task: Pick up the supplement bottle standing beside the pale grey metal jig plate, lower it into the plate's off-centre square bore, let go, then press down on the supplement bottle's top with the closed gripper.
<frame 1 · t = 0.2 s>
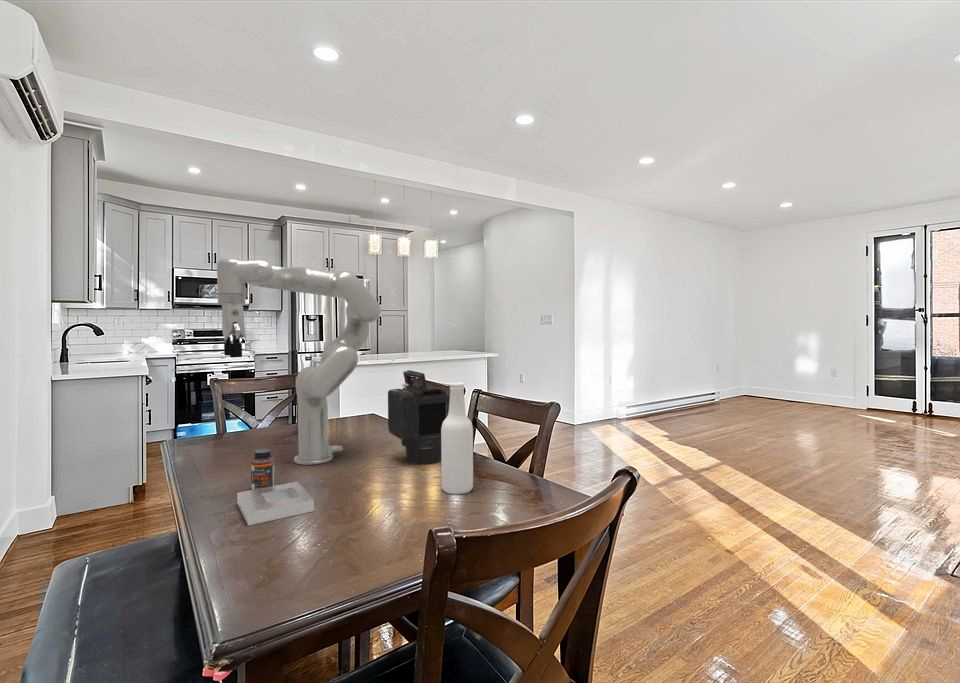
hand: (233, 356, 151), 36 cm above the table, tool pointing down, fingers open, 9 cm apart
supplement bottle: (263, 491, 137), on the table
alcohol: (457, 490, 138), on the table
lantern: (420, 460, 167), on the table
jig: (274, 507, 125), on the table
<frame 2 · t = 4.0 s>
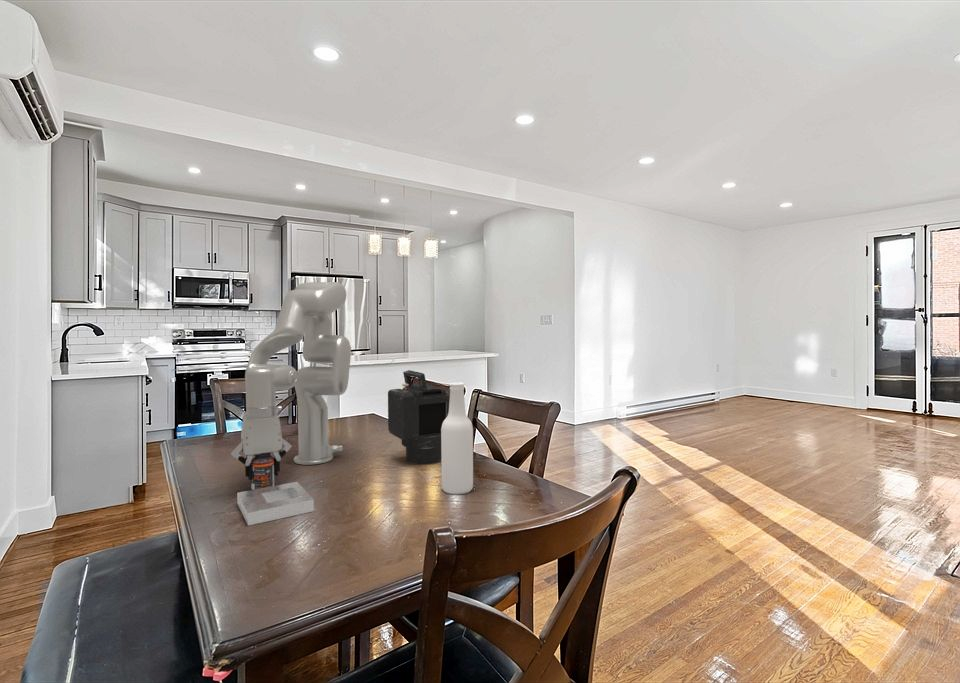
hand: (262, 476, 137), 4 cm above the table, tool pointing down, fingers closed on supplement bottle, 6 cm apart
supplement bottle: (263, 491, 137), on the table, touching gripper
everything else where it was.
when the fingers open (5 cm above the table, at t = 10.6 s): supplement bottle drops 1 cm, resting in jig.
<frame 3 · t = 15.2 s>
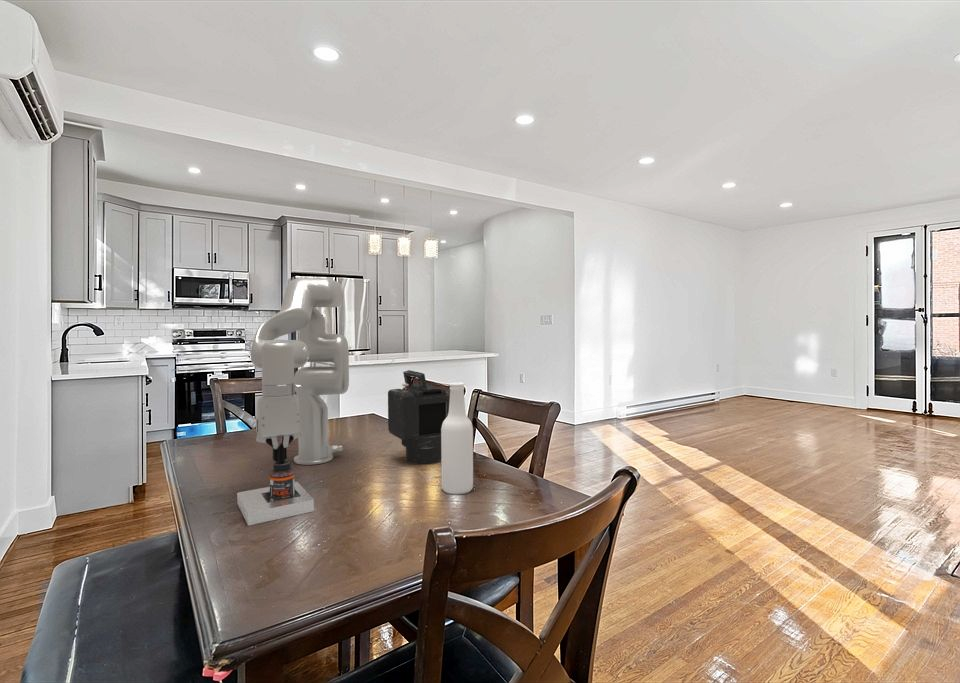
hand: (279, 462, 125), 11 cm above the table, tool pointing down, fingers closed
supplement bottle: (282, 506, 126), resting in jig, touching gripper
everything else where it was.
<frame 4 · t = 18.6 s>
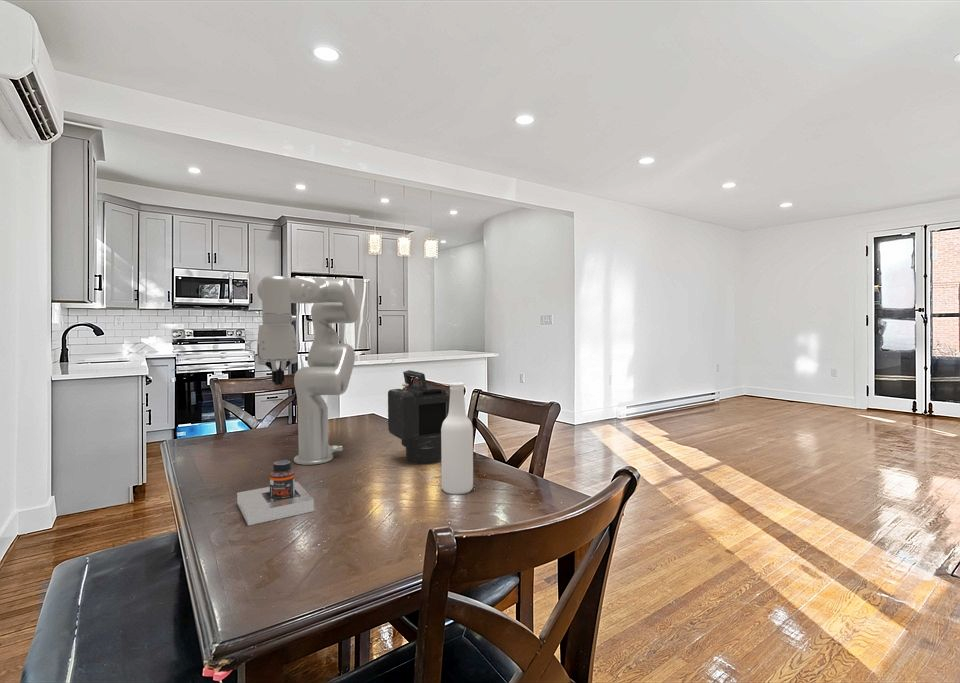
hand: (278, 384, 140), 29 cm above the table, tool pointing down, fingers closed
supplement bottle: (282, 506, 126), resting in jig
everything else where it was.
at the end: supplement bottle 0.4 cm from the target spot on the jig, point 0.0 cm above the jig's base; supplement bottle tilted 0°; the gripper is holding nothing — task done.
